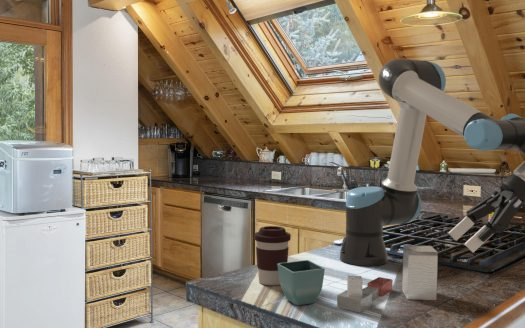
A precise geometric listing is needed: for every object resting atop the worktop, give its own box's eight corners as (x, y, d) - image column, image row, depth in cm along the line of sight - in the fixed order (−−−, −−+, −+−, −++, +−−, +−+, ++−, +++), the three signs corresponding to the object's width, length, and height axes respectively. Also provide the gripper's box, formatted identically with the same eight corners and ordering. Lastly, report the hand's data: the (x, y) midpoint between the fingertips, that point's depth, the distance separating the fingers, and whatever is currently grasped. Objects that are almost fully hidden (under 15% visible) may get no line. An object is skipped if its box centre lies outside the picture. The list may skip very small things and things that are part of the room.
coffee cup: (248, 285, 139) (248, 230, 138) (261, 275, 148) (261, 223, 147) (283, 289, 136) (284, 232, 135) (294, 279, 145) (295, 226, 144)
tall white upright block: (407, 299, 128) (408, 251, 128) (402, 290, 135) (403, 245, 135) (436, 300, 128) (437, 252, 127) (429, 291, 135) (430, 245, 134)
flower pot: (292, 310, 120) (292, 272, 119) (276, 298, 128) (276, 262, 127) (325, 305, 124) (325, 268, 123) (307, 294, 132) (308, 259, 131)
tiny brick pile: (337, 307, 122) (337, 278, 122) (375, 286, 139) (375, 260, 138) (360, 312, 118) (360, 282, 118) (396, 290, 135) (396, 264, 135)
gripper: (559, 200, 115) (488, 265, 117) (514, 188, 140) (455, 242, 142) (535, 176, 115) (464, 242, 117) (494, 168, 140) (436, 223, 142)
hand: (459, 242), depth 130 cm, fingers open, 13 cm apart
